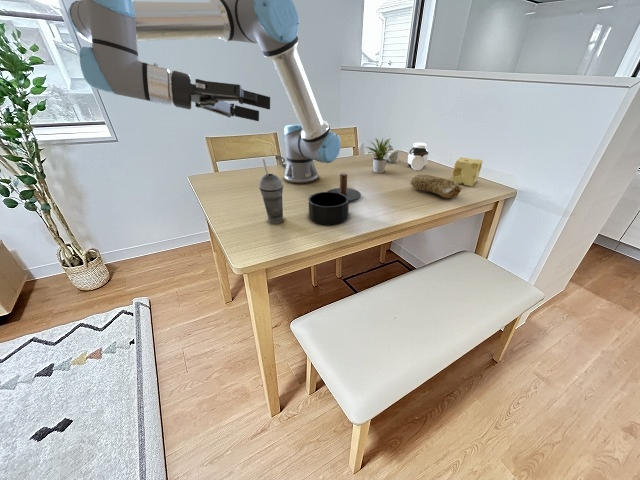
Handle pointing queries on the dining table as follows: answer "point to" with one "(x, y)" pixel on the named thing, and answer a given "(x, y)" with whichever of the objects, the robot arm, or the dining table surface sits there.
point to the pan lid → (346, 189)
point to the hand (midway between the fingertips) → (264, 110)
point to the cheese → (466, 171)
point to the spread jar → (418, 156)
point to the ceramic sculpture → (391, 154)
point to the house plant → (379, 155)
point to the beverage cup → (272, 196)
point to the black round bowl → (328, 208)
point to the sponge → (436, 185)
